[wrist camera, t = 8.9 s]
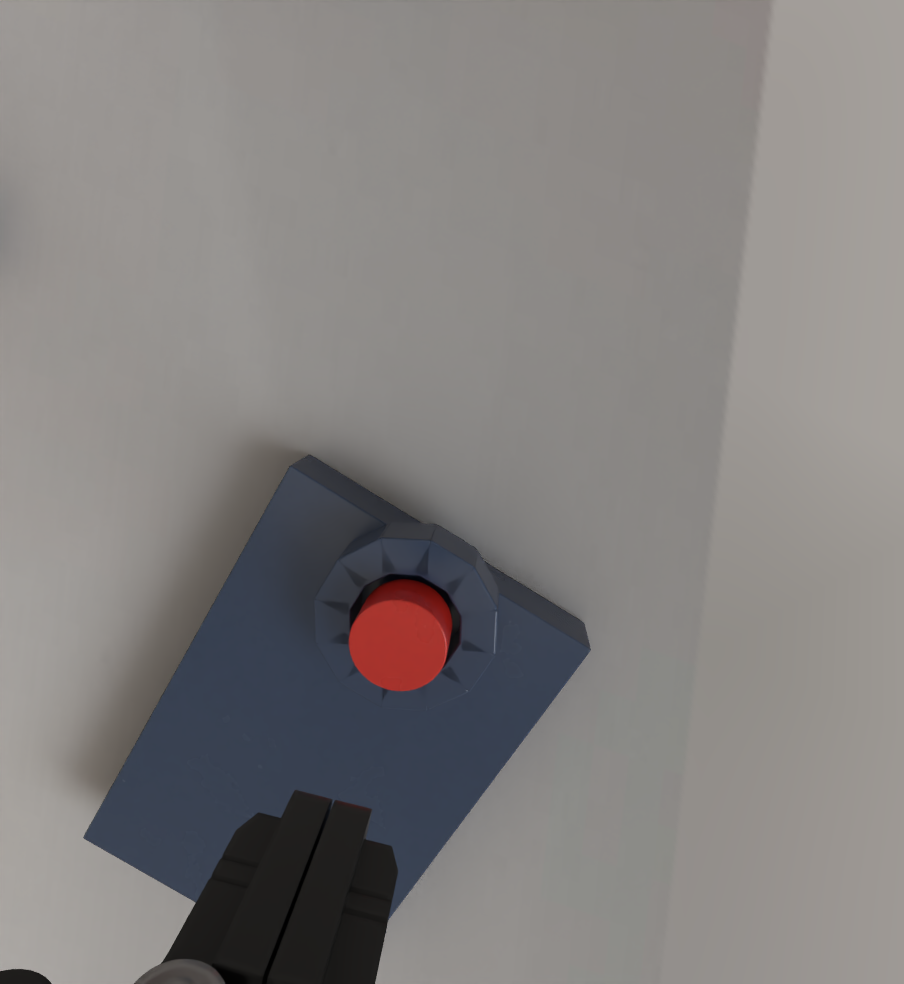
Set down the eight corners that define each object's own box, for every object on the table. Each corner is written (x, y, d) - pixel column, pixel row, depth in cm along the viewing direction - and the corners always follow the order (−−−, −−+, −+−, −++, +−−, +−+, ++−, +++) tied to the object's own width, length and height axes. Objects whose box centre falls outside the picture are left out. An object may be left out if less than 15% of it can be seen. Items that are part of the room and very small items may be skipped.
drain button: (389, 561, 21) (379, 581, 20) (470, 610, 21) (466, 634, 20) (344, 633, 22) (330, 658, 20) (422, 680, 22) (414, 709, 20)
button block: (321, 431, 24) (285, 450, 20) (599, 603, 25) (615, 653, 21) (113, 801, 29) (51, 873, 25) (352, 938, 29) (328, 1030, 26)
